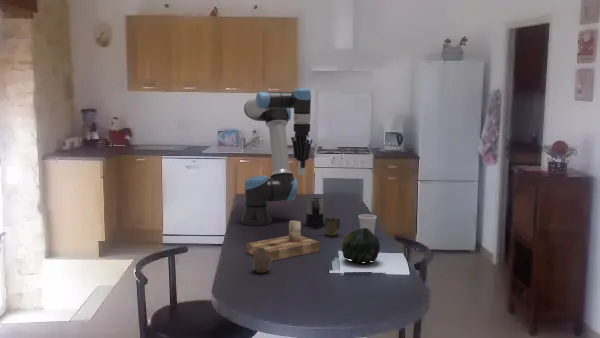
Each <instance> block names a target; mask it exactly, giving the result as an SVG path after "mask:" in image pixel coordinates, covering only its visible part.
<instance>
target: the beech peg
mask: <svg viewBox="0 0 600 338" xmlns="http://www.w3.org/2000/svg"><path fill="white" fill-rule="evenodd" d="M301 233H302V222H301V221H300V220H289V222H288V236H289V241H291V242H299V241H301V236H302V234H301Z"/></svg>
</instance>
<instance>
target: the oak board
mask: <svg viewBox="0 0 600 338" xmlns="http://www.w3.org/2000/svg"><path fill="white" fill-rule="evenodd" d="M320 246H321V245H320V241H319V240H315V239H311V238H308V237H305V236H304V235H303V236H302V235H301V241H299V242H291V241H289V235H285V236H280V237H274V238H269V239H263V240H258V241H253V242H252V241H251V242H247V243H246V253H247V254H250V255H252V256H254V255H255V254H256V253H257V251H258V249H259V248H264V249H265V250H266V252H267V253H268V254H269V256H270V258H271V262H272V261H277V260H283V259H284V260H285V259H288V258H292V257H297V256H302V255H308V254H313V253H317V252H320Z"/></svg>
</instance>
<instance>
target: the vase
mask: <svg viewBox="0 0 600 338" xmlns="http://www.w3.org/2000/svg"><path fill="white" fill-rule="evenodd" d="M252 266H253V269H254V271H255V272H256V273H258V274H266V273H268V272H269V270H270V268H271V266H272V261H271V258H270V256H269V254H268V253H267V252H266V250H265V249H264V248H259V249H258V251H257V253H256V254H255V255H253V258H252Z"/></svg>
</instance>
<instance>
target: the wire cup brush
mask: <svg viewBox="0 0 600 338" xmlns="http://www.w3.org/2000/svg"><path fill="white" fill-rule="evenodd" d="M323 223H324V224H325V225H324V229H325V231H326V232H327V235H328V236H329V237H336V235H337V233H338V231H339V229H340V224H341V219H340V217H335V216H334V217H325V218H323Z"/></svg>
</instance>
